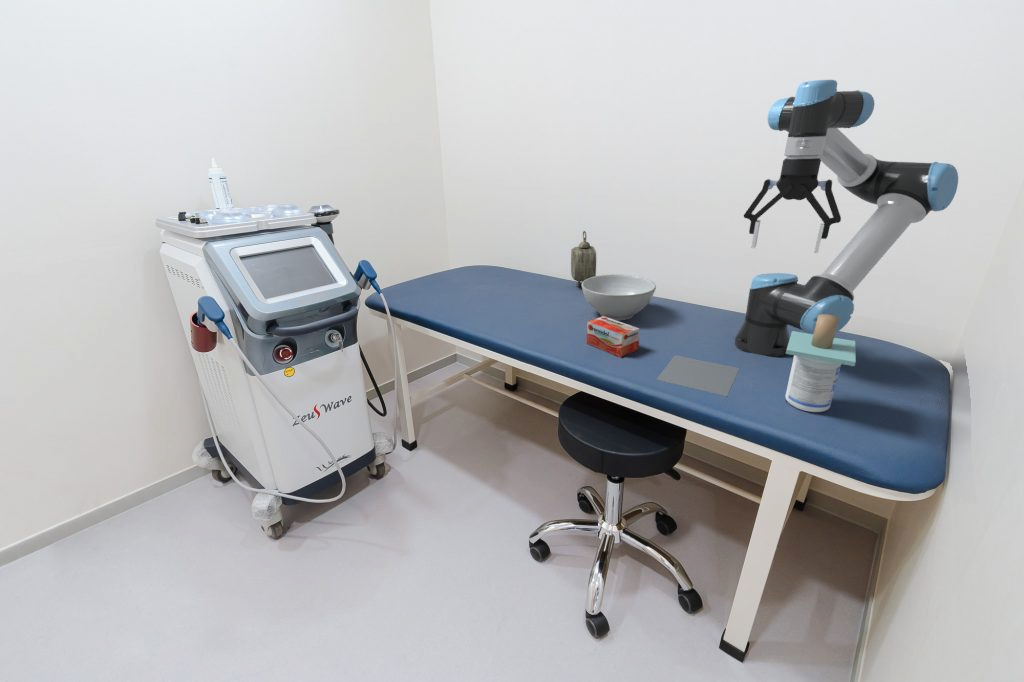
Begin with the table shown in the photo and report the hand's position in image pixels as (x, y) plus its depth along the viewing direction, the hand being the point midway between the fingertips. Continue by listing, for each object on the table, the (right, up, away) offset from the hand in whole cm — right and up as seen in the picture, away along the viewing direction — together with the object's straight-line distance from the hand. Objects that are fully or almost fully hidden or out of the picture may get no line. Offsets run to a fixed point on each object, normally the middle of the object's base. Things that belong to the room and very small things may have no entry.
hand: (783, 249), depth 114 cm
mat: (-15, -32, +14) cm, 38 cm away
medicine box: (-36, -25, +34) cm, 55 cm away
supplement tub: (+5, -38, -1) cm, 39 cm away
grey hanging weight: (-36, +2, +95) cm, 101 cm away
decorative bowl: (-28, -13, +60) cm, 68 cm away
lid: (+5, -25, -7) cm, 26 cm away
